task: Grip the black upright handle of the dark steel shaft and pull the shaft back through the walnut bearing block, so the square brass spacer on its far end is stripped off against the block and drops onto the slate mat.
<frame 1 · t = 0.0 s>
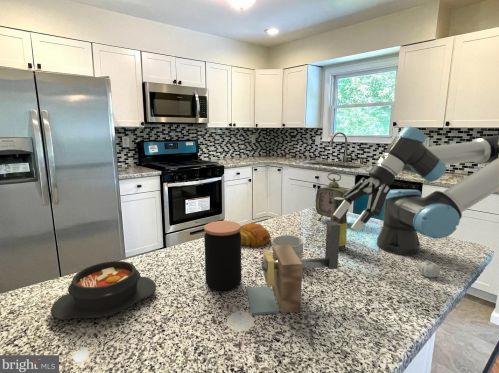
hand: (344, 223, 95), 15 cm above the countertop, tool tilted 35°, fingers open, 13 cm apart
slate mat: (261, 300, 78), on the countertop
tabletop clock: (331, 222, 146), on the countertop
bearing block: (285, 298, 79), on the countertop
croissant: (252, 241, 120), on the countertop
shaft: (300, 246, 76), point 15 cm above the countertop, slide at 0.0 cm, touching spacer
coffee jar: (223, 284, 87), on the countertop
casserole: (108, 302, 77), on the countertop
garlic: (428, 276, 92), on the countertop
sauce bottle: (337, 248, 113), on the countertop
spacer: (268, 279, 77), point 6 cm above the countertop, touching shaft
teacup: (287, 260, 103), on the countertop
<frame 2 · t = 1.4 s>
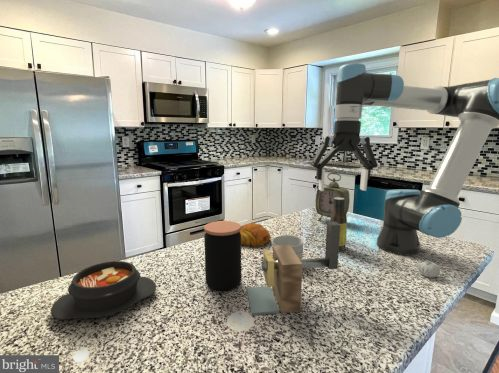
hand: (342, 190, 90), 27 cm above the countertop, tool pointing down, fingers open, 13 cm apart
nothing on the countertop moved.
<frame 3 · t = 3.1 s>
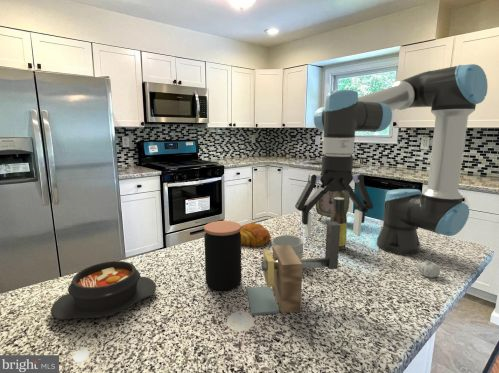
hand: (332, 235, 77), 18 cm above the countertop, tool pointing down, fingers open, 13 cm apart
nothing on the countertop moved.
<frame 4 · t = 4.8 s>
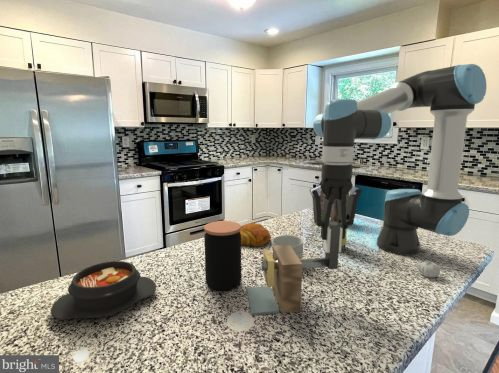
hand: (332, 250, 78), 14 cm above the countertop, tool pointing down, fingers closed on shaft, 2 cm apart
shaft: (300, 246, 76), point 15 cm above the countertop, slide at 0.0 cm, touching gripper, spacer
everything else where it was.
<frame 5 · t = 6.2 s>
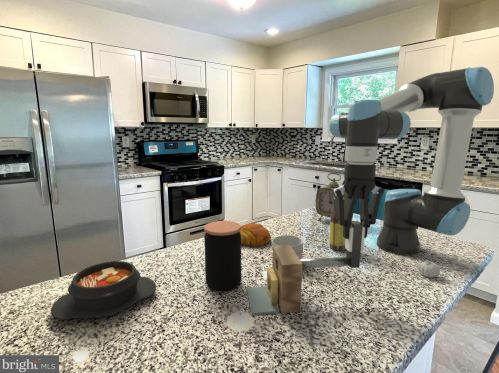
hand: (353, 249, 78), 13 cm above the countertop, tool pointing down, fingers closed on shaft, 2 cm apart
shaft: (322, 245, 77), point 15 cm above the countertop, slide at 6.2 cm, touching gripper
spacer: (272, 297, 78), point 1 cm above the countertop, touching slate mat
everything else where it was.
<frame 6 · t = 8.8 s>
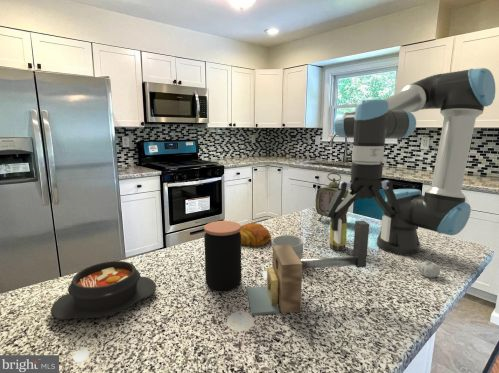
hand: (360, 240, 78), 16 cm above the countertop, tool pointing down, fingers open, 13 cm apart
shaft: (329, 245, 77), point 15 cm above the countertop, slide at 8.0 cm
everything else where it was.
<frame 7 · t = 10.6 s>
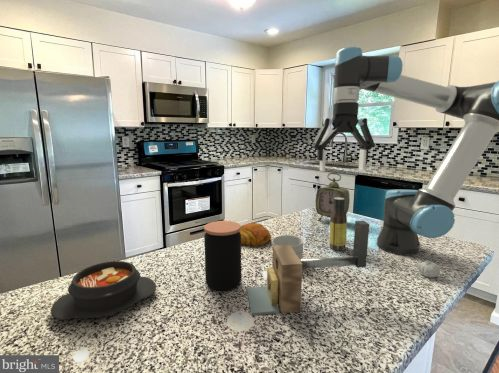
hand: (342, 170, 94), 32 cm above the countertop, tool pointing down, fingers open, 13 cm apart
nothing on the countertop moved.
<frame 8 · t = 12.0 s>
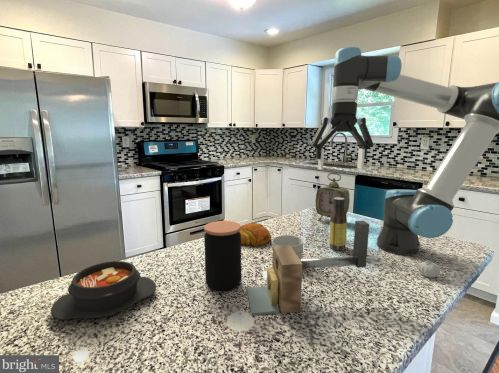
hand: (340, 169, 95), 33 cm above the countertop, tool pointing down, fingers open, 13 cm apart
nothing on the countertop moved.
at the end: shaft slide at 8.0 cm; spacer point 0.6 cm above the countertop; spacer touching slate mat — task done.
